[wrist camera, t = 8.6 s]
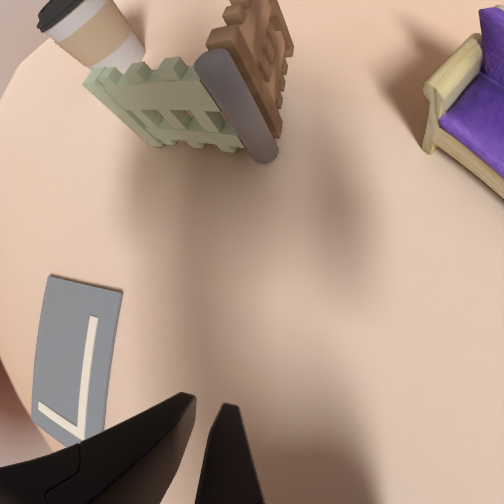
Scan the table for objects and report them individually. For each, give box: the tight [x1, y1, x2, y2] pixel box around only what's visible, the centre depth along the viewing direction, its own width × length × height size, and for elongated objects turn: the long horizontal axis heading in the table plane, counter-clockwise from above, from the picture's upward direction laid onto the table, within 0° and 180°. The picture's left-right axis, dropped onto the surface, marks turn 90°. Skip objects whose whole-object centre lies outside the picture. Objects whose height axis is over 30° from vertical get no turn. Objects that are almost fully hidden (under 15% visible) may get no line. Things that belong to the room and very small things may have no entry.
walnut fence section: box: [205, 0, 294, 138], centre depth 21 cm, size 11×2×10 cm, turn 170°
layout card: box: [31, 276, 123, 447], centre depth 25 cm, size 16×11×1 cm
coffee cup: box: [37, 0, 145, 74], centre depth 29 cm, size 9×9×15 cm
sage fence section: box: [82, 48, 278, 164], centre depth 21 cm, size 12×2×10 cm, turn 68°
